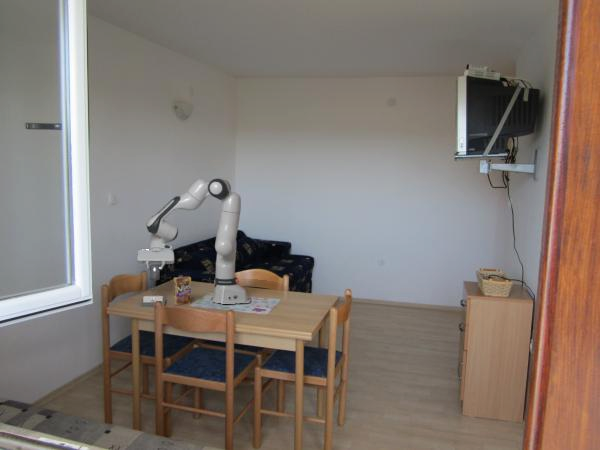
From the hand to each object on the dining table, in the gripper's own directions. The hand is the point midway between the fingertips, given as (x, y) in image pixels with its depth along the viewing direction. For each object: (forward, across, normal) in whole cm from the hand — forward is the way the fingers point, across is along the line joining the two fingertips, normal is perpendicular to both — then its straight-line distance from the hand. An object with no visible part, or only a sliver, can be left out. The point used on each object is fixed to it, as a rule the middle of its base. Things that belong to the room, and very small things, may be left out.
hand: (154, 269), depth 256 cm
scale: (+14, 0, +13) cm, 20 cm away
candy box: (+15, +15, +13) cm, 25 cm away
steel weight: (+4, 0, +5) cm, 6 cm away
